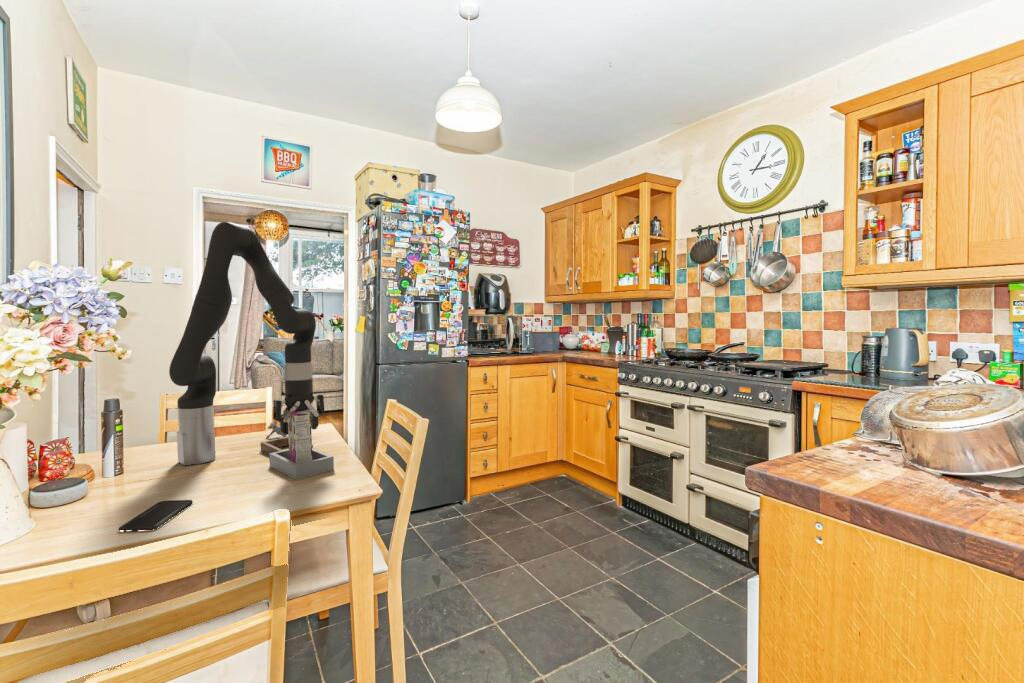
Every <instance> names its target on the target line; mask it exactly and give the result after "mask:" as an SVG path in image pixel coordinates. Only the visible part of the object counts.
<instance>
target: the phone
mask: <svg viewBox="0 0 1024 683" xmlns="http://www.w3.org/2000/svg"><path fill="white" fill-rule="evenodd" d="M192 503H193V500H192V499H182V500H181V499H179V500H178V499H177V500H173V499H172V500H162V501H159V502H157V503H155V504H154V505H152V506H151V507H149V508H147V509H146V510H144V511H143V512H141V513H139V514H138V515H136V516H135V517H133V518H131V519H130V520H128V521H127V522H125V523H123V524H122V525H120V526H119V527H118V531H119V530H133V531H137V530H153V529H157V528H158V527H160V526H161V525H162V524H164V523H165V522H167V521H168V520H169V519H171V518H172V517H174V516H176V515H177V514H178V513H179V512H181V511H182V510H184V509H185V508H187V507H188V506H189V507H191V506H192V505H193V504H192ZM191 504H192V505H191ZM190 505H191V506H190ZM189 507H188V508H189ZM188 508H187V509H188ZM185 510H186V509H185ZM185 510H184V511H185ZM182 512H183V511H182ZM182 512H181V513H182ZM178 515H179V514H178ZM178 515H177V516H178ZM177 516H176V517H177ZM174 518H175V517H174ZM171 520H172V519H171ZM167 523H168V522H167ZM164 525H165V524H164ZM160 528H161V527H160ZM157 530H158V529H157Z"/></svg>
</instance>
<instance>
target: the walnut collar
mask: <svg viewBox="0 0 1024 683" xmlns="http://www.w3.org/2000/svg"><path fill="white" fill-rule="evenodd" d="M287 445H289V441H288V437H279V438H275V439H270V440H265V441H260V451H261V453H264V454H266V455H268V454H269V453H274V452H278V451H283V450H284V449H281V448H284V447H283V446H286V447H288V446H287ZM313 445H314V444H312V448H314V446H313ZM279 447H281V448H279Z"/></svg>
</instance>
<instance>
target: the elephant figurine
mask: <svg viewBox="0 0 1024 683" xmlns="http://www.w3.org/2000/svg"><path fill="white" fill-rule="evenodd" d="M267 429H268V430H272V431H271V432H270V433H269V434H268V435H266V437H265V440H267V439H269V438H270V437H271V436H272V435H273V434H274V433H275V434H277V435H278V436H282V438H284V437H288V435H284V434H283V433H281V425H280V423H278V421H276V420H273V422H271V423H270V424H269V426H268V427H267Z"/></svg>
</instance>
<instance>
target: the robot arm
mask: <svg viewBox="0 0 1024 683" xmlns="http://www.w3.org/2000/svg"><path fill="white" fill-rule="evenodd" d="M233 256H236V257H241V258H242V259H243V260H244V261H245V262H246V263H247V264H248V265H249V266H250V268H251V270H252V271H253V273H254V274H253V275H254V280H255V285H256V288H257V290H258V291H259V293H260V295H261V296H262V297H263V299H264V300H265V301H266V303H267V304H268V305H269V307H270V309H271V312H272V315H273V317H274V320H275V322H276V324H277V326H278V328H279V329H280V330H281V331H283V332H285V333H286V334H290V335H292V334H293V338H292V340H291V341H289V342H287V343H286V344H285V347H284V370H283V371H284V398H283V399H274V400H273V407H272V408H273V410H272V419H273V421H275V420H276V421H277V422H279V424H280V425H281V433H283V434H284V435H286V436H288V419H289V417H290V416H292V414H293V413H294V412H299V411H306V410H307V411H308V412H309V413H310V414H311V430H317V429H318V427H319V416H320V415H323V414H325V413H326V412H325V410H326V409H325V401H324V395H323V394H321V393H316V394H313V392H314V387H313V383H314V382H313V380H314V379H313V375H314V374H313V373H314V372H313V365H312V345H313V341H314V337H315V334H316V333H315V332H316V328H317V326H316V325H317V322H316V317H315V316H314V314H313V313H314V312H312V311H311V310H309V309H304V308H296V309H295V308H294V307H293V306H292V305H293V304H294V302H295V297H294V294H293V292H292V291H291V290H290V289H289V287H288V286H287V285H286V283H285V282H284V281H283V279H282V278H281V276H280V275H279V274H278V273H277V271H276V269H275V267H274V266H273V264H272V263H271V260H270V259H269V257H268V254H267V253H266V251H265V249H264V246H263V245H262V243H261V241H260V240H259V237H258V236H257V234H256V233H255V231H254V230H253V229H251V228H250V227H247V226H244V225H240V224H237V223H234V222H230V221H222V222H220V223H218V224H216V225H215V227H214V229H213V231H212V234H211V236H210V240H209V244H208V250H207V256H206V261H205V265H204V269H203V272H202V276H201V280H200V283H199V286H198V289H197V292H196V294H195V296H194V297H195V298H194V301H193V304H192V306H191V307H192V308H191V312H190V315H189V316H188V317H189V318H188V320H187V323H186V325H185V327H184V328H185V329H184V332H183V334H182V338H181V339H180V342H179V344H178V345H177V349H176V350H175V352H174V354H173V357H172V360H171V361H170V365H169V370H168V371H169V372H168V373H169V378H170V380H171V381H172V383H174V384H175V385H176V386H179V387H187V389H186V391H185V392H184V393H183V394H182V395H181V396H180V397H179V398H178V399H177V418H178V420H177V421H178V422H177V423H178V431H177V432H176V438H177V439H176V445H177V461H178V463H179V462H180V463H179V464H181V465H182V466H183V465H184V466H185V465H186V466H192V465H191V464H195V465H201V463H202V464H206V463H209V462H212V461H214V460H215V459H216V458H217V456H216V452H217V451H216V436H215V435H216V433H215V414H214V413H215V412H214V408H215V407H214V399H215V395H216V391H217V368H216V365H215V364H216V363H215V362H214V359H213V358H212V357H211V356H210V355H209V354H206V353H204V350H205V348H206V346H207V345H208V343H209V342H210V340H211V339H212V338H213V337H214V335H215V334H216V333H217V332H218V331H219V330H220V328H222V326H223V324H224V323H225V321H226V320H227V318H228V315H229V312H230V309H231V306H232V301H233V295H232V294H233V293H232V288H231V284H230V280H229V269H230V265H231V262H232V259H233ZM313 402H315V403H316V408H315V407H314V406H313ZM284 405H285V406H286V407H285V408H284V410H283V411H282V408H283V406H284ZM205 462H206V463H205ZM186 466H185V467H186Z"/></svg>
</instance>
